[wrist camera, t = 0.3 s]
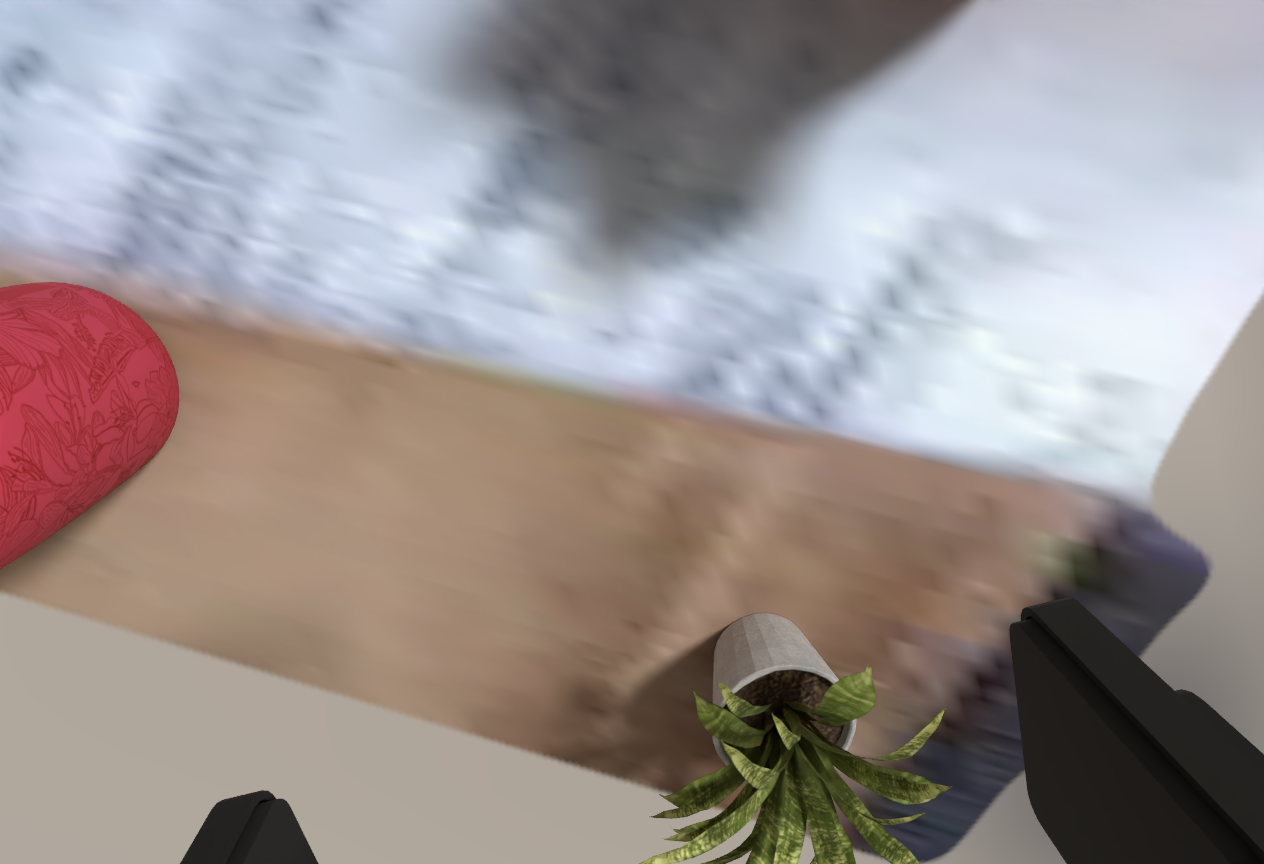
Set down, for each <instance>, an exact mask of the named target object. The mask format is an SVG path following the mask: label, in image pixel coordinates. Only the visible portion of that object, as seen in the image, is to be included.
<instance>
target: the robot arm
mask: <svg viewBox="0 0 1264 864" xmlns="http://www.w3.org/2000/svg"><path fill="white" fill-rule="evenodd" d="M1009 630H1010V642H1011V651H1012V660H1013V669H1014V677H1015V686H1016V695H1017V703H1018V712H1019V721H1020V730H1021V738H1022V747H1023V756H1024V764H1025V773H1026V781H1027V790H1028V795H1029V799H1030V802H1031V805H1032V808H1033V810H1034V813H1035V815H1036V817H1037V819H1038V821H1039V822H1040V824H1041V826H1042V827H1043V829H1044V830H1045V832H1046V833H1047V835H1048V836H1049V838H1050V839H1051V841H1052V842H1053V844H1054V845H1055V847H1056V848H1057V850H1058V851H1059V853H1060V854H1061V856H1062V857H1063V859H1064V860H1065V862H1066V863H1067V864H1264V755H1263V753H1261V752H1260V751H1259V750H1258V749H1257V748H1256V747H1255V746H1254V745H1253V744H1251V743H1250V742H1249V741H1248V740H1247V739H1246V738H1245V737H1243V736H1242V735H1241V734H1240V733H1239V732H1238V731H1237V730H1236V729H1235V728H1234V727H1233V726H1231V725H1230V724H1229V723H1228V722H1227V721H1226V720H1225V719H1224V718H1222V717H1221V716H1220V715H1219V714H1218V713H1217V712H1216V711H1215V710H1214V709H1213V708H1211V707H1210V706H1209V705H1208V704H1207V703H1206V702H1205V701H1203V700H1202V699H1201V698H1199V697H1198V696H1196V695H1195V694H1194V693H1192V692H1189V691H1186V690H1177V691H1174V690H1173V689H1172V688H1171V687H1170V686H1169V685H1168V684H1167V683H1165V682H1164V681H1163V680H1162V679H1161V678H1160V677H1159V676H1158V675H1157V674H1156V673H1155V672H1154V671H1152V670H1151V669H1150V668H1149V667H1148V666H1147V665H1146V664H1145V663H1144V662H1143V661H1142V660H1141V659H1140V658H1139V657H1137V656H1136V655H1135V654H1134V653H1133V652H1132V651H1131V650H1130V649H1129V648H1128V647H1127V646H1126V645H1125V644H1123V643H1122V642H1121V641H1120V640H1119V639H1118V638H1117V637H1116V636H1115V635H1114V634H1113V633H1112V632H1111V631H1109V630H1108V629H1107V628H1106V627H1105V626H1104V625H1103V624H1102V623H1101V622H1100V621H1099V620H1098V619H1097V618H1095V617H1094V616H1093V615H1092V614H1091V613H1090V612H1089V611H1088V610H1087V609H1086V608H1085V607H1084V606H1083V605H1081V604H1080V603H1079V602H1078V601H1077V600H1075V599H1074V598H1070V597H1067V598H1063V599H1059V600H1055V601H1050V602H1046V603H1042V604H1038V605H1034V606H1030V607H1025V608H1024V609H1023V610H1022V613H1021V621H1020V622H1016V623H1012V624H1011V625H1010V629H1009ZM180 864H318V862H317V860H316V858H315V856H314V854H313V852H312V850H311V848H310V846H309V844H308V842H307V840H306V838H305V836H304V834H303V832H302V830H301V828H300V825H299V823H298V821H297V820H296V817H295V816H294V814H293V811H292V809H291V808H290V806H289V804H288V803H287V801H285V800H284V799H276V798H275V797H274V795H273V794H271V793H270V792H269V791H258V792H254V793H250V794H246V795H241V796H237V797H233V798H229V799H224V800H222V801H220V802H218V803H217V804H216V805H215V806H214V807H213V809H212V810H211V812H210V813H209V815H208V817H207V818H206V821H205V822H204V824H203V825H202V827H201V829H200V830H199V832H198V834H197V836H196V837H195V839H194V841H193V843H192V844H191V846H190V848H189V849H188V851H187V853H186V855H185V856H184V858H183V860H182V861H181V863H180Z"/></svg>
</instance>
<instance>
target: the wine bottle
mask: <svg viewBox="0 0 1264 864" xmlns="http://www.w3.org/2000/svg"><path fill="white" fill-rule="evenodd" d="M178 407H179V386H178V380H177V376H176V372H175V368H174V365H173V363H172V360H171V358H170V356H169V354H168V352H167V350H166V348H165V346H164V345H163V343H162V342H161V340H160V339H159V337H158V336H157V334H156V333H155V332H154V331H153V330H152V329H151V327H150V326H149V325H148V324H147V323H146V322H145V321H144V320H143V319H142V318H141V317H140V316H139V315H137V314H136V313H135V312H134V311H132V310H131V309H130V308H128V307H127V306H125V305H124V304H122V303H121V302H119V301H117V300H116V299H114V298H112V297H110V296H108V295H106V294H104V293H101V292H98V291H96V290H93V289H90V288H86V287H83V286H78V285H73V284H67V283H57V282H45V283H30V284H23V285H16V286H9V287H3V288H0V569H1V568H2V567H4V566H6V565H7V564H9V563H11V562H12V561H14V560H15V559H17V558H18V557H20V556H21V555H23V554H25V553H26V552H28V551H29V550H31V549H32V548H34V547H35V546H37V545H38V544H40V543H41V542H43V541H44V540H46V539H47V538H48V537H50V536H51V535H53V534H54V533H55V532H57V531H58V530H60V529H61V528H62V527H64V526H65V525H67V524H68V523H69V522H71V521H72V520H73V519H75V518H76V517H78V516H79V515H80V514H82V513H83V512H84V511H86V510H87V509H88V508H90V507H91V506H92V505H94V504H95V503H96V502H98V501H99V500H100V499H102V498H103V497H104V496H106V495H107V494H108V493H109V492H111V491H112V490H113V489H115V488H116V487H117V486H119V485H120V484H121V483H122V482H124V481H125V480H126V479H127V478H129V477H130V476H131V475H132V474H134V473H135V472H136V471H137V470H138V469H140V468H141V467H142V466H143V465H144V464H146V463H147V462H148V461H149V460H150V459H151V458H152V457H153V456H154V455H155V454H156V453H157V452H158V451H159V450H160V449H161V447H162V446H163V445H164V443H165V442H166V440H167V439H168V437H169V435H170V433H171V431H172V429H173V427H174V424H175V421H176V417H177V414H178Z"/></svg>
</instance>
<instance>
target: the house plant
mask: <svg viewBox="0 0 1264 864" xmlns="http://www.w3.org/2000/svg"><path fill="white" fill-rule="evenodd" d="M692 690H693V689H692ZM693 694H694V697H695V702H696V708H697V714H698V718H699V720H700V721H701V723H702V725H703V726H704V728H705V729H706V730H707V731H708V732H709V733H710V734H711V735H712V740H713V743H714V746H715V749H716V752H717V754H718V756H719V757H720V758H721V760H722V761H723V762H724V764H725V765H726V766H725V767H723V768H721V769H719V770H717V771H715V772H713V773H710V774H708V775H706V776H704V777H701V778H699V779H697V780H695V781H693V782H691V783H690V784H688V785H686V786H685V787H683V788H682V789H681V790H679V791H678V792H676V793H674V794H671V795H668V796H663V795H660V796H662V797H663V798H665V799H666V800H668V801H669V802H671V803H673V804H674V805H676V806H677V807H679V808H677V809H673V810H668V811H664V812H662V813H660V814H657V815H655V816H653V817H654V818H680V817H687V816H690V815H692V814H695V813H698V812H699V811H703V810H707V809H709V808H711V807H713V806H715V805H717V804H719V803H720V802H721V801H722V800H724V799H725V798H726V797H728V796H729V795H730V794H731V793H732V792H733V791H735V790H736V789H737V788H738V787H739V786H740V785H741V784H742V783H743V782H744V781H745V780H746V781H747V783H746V785H745V786H744V788H743V789H742V791H741V792H740V793H739V795H738V796H737V797H736V798H735V800H734V801H733V802H732V803H731V804H730V805H729V806H728V807H727V808H726V809H725V810H724V811H723V812H722V813H720V814H719V815H718V816H717V817H715V818H712V819H709V820H706V821H703V822H699V823H696V824H693V825H690V826H687V827H685V828H682V829H680V830H677V829H674V831H675V832H677V833H678V834H677V835H674V836H672V837H670V838H667V839H665V840H672V841H684V842H686V841H690V842H688V843H687V844H685V845H683V846H682V847H680V848H677V849H674V850H671V851H669V852H666V853H663V854H659V855H656V856H653V857H651V858H650V859H648V860H646V861H644V862H642V863H640V864H672V863H676V862H680V861H684V860H687V859H691V858H694V857H696V856H698V855H701V854H703V853H705V852H707V851H709V850H711V849H713V848H714V847H716V846H717V845H719V844H721V843H722V842H724V841H726V840H727V839H728V838H730V837H731V836H733V835H734V834H735V833H737V832H738V831H739V830H740V829H741V828H742V827H743V826H745V825H746V823H748V822H749V821H750V820H751V819H752V817H753V816H754V814H755V813H756V812H757V810H758V809H759V807H760V806H761V805H762V806H761V810H760V813H759V816H758V819H757V821H756V824H755V826H754V829H753V831H752V833H751V835H750V836H749V837H748V838H747V839H746V840H745V841H744V842H743V843H742V844H741V845H740V846H739V847H737V848H736V849H734V850H733V851H731V852H730V853H728V854H726V855H724V856H722V857H720V858H717V859H715V860H712V861H710V862H706V863H702V864H726V863H728V862H730V861H733V860H735V859H738V858H740V857H742V856H743V855H745V854H746V853H748V852H749V851H751V850H752V851H751V853H750V855H749V858H748V860H747V862H746V864H798V861H799V857H800V854H801V850H802V846H803V842H804V836H805V830H806V822H807V824H808V826H809V830H810V834H811V839H812V844H813V848H814V852H815V857H814V858H813V860H812V862H811V863H810V864H816V863H817V864H856V862H855V858H854V854H853V849H852V845H851V841H850V840H849V838H848V836H847V834H846V832H845V831H844V829H843V827H842V825H841V823H840V822H839V819H838V816H837V813H836V810H835V806H834V803H833V800H832V797H833V799H834V801H835V802H836V804H837V805H838V806H839V808H840V809H841V811H842V812H843V813H844V815H845V816H846V817H847V818H848V820H849V821H850V822H851V823H852V824H853V826H854V827H855V828H856V829H857V830H858V831H859V833H860V834H861V835H862V836H863V837H864V838H865V840H866V841H867V842H868V843H869V844H870V845H871V846H872V848H873V849H874V850H875V851H876V852H878V853H879V854H880V855H881V856H883V857H884V858H885V859H886V860H887V861H889V862H890V863H891V864H920V863H919V862H918V861H917V859H916V858H915V857H914V856H913V854H912V853H911V852H910V851H909V850H908V849H907V848H906V847H905V846H904V845H903V844H901V843H900V842H899V841H898V840H897V839H895V838H894V837H893V836H892V835H890V834H889V833H888V832H887V831H886V830H885V829H884V828H883V827H882V826H881V825H880V824H884V825H894V824H900V823H904V822H908V821H911V820H914V819H915V818H917V817H918V816H920V815H922V814H925V813H922V814H918V815H914V816H910V817H905V818H899V819H893V820H888V819H878V818H873V816H872V815H871V814H870V812H869V811H868V810H867V809H866V807H865V806H864V805H863V803H862V802H861V801H860V800H859V798H858V797H857V796H856V795H855V794H854V792H853V791H852V790H851V789H850V788H849V787H848V785H847V784H846V783H845V782H844V781H843V779H842V778H841V777H840V776H839V774H838V773H837V772H836V770H835V769H834V767H833V765H834V766H835V767H836V768H837V769H839V770H840V771H841V772H843V773H844V774H845V775H847V776H848V777H849V778H851V779H853V780H855V781H856V782H858V783H860V784H861V785H863V786H865V787H866V788H868V789H870V790H872V791H874V792H875V793H878V794H880V795H882V796H884V797H886V798H889V799H891V800H893V801H896V802H899V803H902V804H917V803H923V802H927V801H929V800H931V799H933V798H935V797H937V794H939V793H941V792H944V791H946V790H948V789H950V788H951V787H952V786H951V787H947V786H942V785H938V784H932V783H931V782H930V781H928V780H927V779H925V778H923V777H921V776H918V775H915V774H912V773H908V772H904V771H900V770H895V769H890V768H886V767H881V766H877V765H873V764H871V763H869V762H867V761H865V760H863V759H873V760H879V761H897V760H901V759H905V758H909V757H911V756H912V755H913V754H915V753H916V752H917V751H918V750H919V749H920V748H921V747H922V746H923V744H924V743H925V742H926V740H927V739H928V738H929V737H930V736H931V735H932V734H933V732H934V731H935V730H936V728H937V727H938V725H939V724H940V721H941V718H942V715H943V713H944V710H945V709H946V708H945V709H944V710H943V711H941V712H940V713H939V714H938V715H937V716H936V717H935V718H934V719H933V720H932V721H931V722H930V723H929V724H928V725H927V726H926V727H925V728H924V729H923V730H922V731H921V732H920V733H919V734H918V735H917V736H916V737H914V738H913V739H912V740H911V741H910V742H908V743H907V744H906V745H904V746H903V747H901V748H900V749H898V750H896V751H894V752H892V753H891V754H889V755H885V756H882V757H878V758H864V757H859V756H855V755H852V754H851V753H849V752H847V749H848V748H849V746H850V744H851V741H852V739H853V736H854V733H855V730H856V719H857V718H859V717H861V716H863V715H865V714H866V713H868V712H869V711H870V710H871V709H872V708H873V707H874V706H875V702H876V693H875V688H874V683H873V678H872V666H871V667H870V668H869V669H868V666H867V668H866V671H865V672H862V673H858V674H854V675H849V676H845V677H843V678H842V679H840V680H839V679H838V678H837V677H836V676H835V674H834V673H833V672H832V671H831V669H830V668H829V667H828V665H827V664H826V663H825V662H824V660H823V659H822V658H821V657H820V655H819V654H818V653H817V651H816V650H815V649H814V648H813V646H812V645H811V644H810V643H809V641H808V640H807V639H806V637H805V636H804V635H803V634H802V632H801V631H800V630H799V629H798V627H797V626H796V625H794V624H793V623H792V622H791V621H789V620H788V619H786V618H783V617H781V616H779V615H774V614H768V613H761V614H752V615H749V616H746V617H742V618H740V619H739V620H737V621H735V622H734V623H732V624H731V625H730V626H728V627H727V628H726V629H725V630H724V631H723V632H722V634H721V636H720V637H719V639H718V641H717V643H716V647H715V650H714V672H713V703H710V702H708V701H706V700H704V699H703V698H701V697H699V696H698V695H697V694H696V693H695V692H694V690H693ZM860 758H862V759H860ZM830 793H831V794H830ZM831 795H832V797H831ZM651 817H652V816H651Z"/></svg>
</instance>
